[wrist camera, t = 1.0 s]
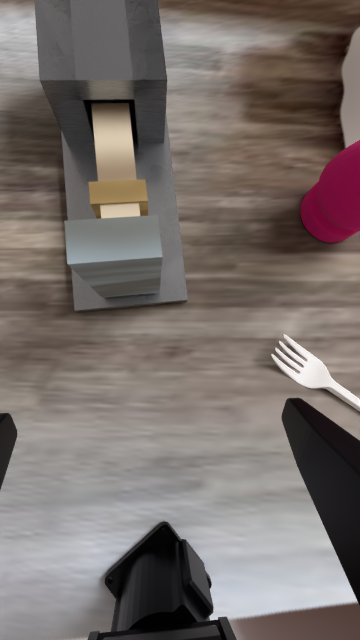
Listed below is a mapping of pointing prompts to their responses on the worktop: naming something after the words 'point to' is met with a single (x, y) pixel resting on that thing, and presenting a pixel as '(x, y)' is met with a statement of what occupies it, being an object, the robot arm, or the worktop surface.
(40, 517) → the worktop surface
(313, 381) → the fork
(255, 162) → the worktop surface
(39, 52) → the grey long blocky piece
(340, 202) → the pepper mill
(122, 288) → the shaft
